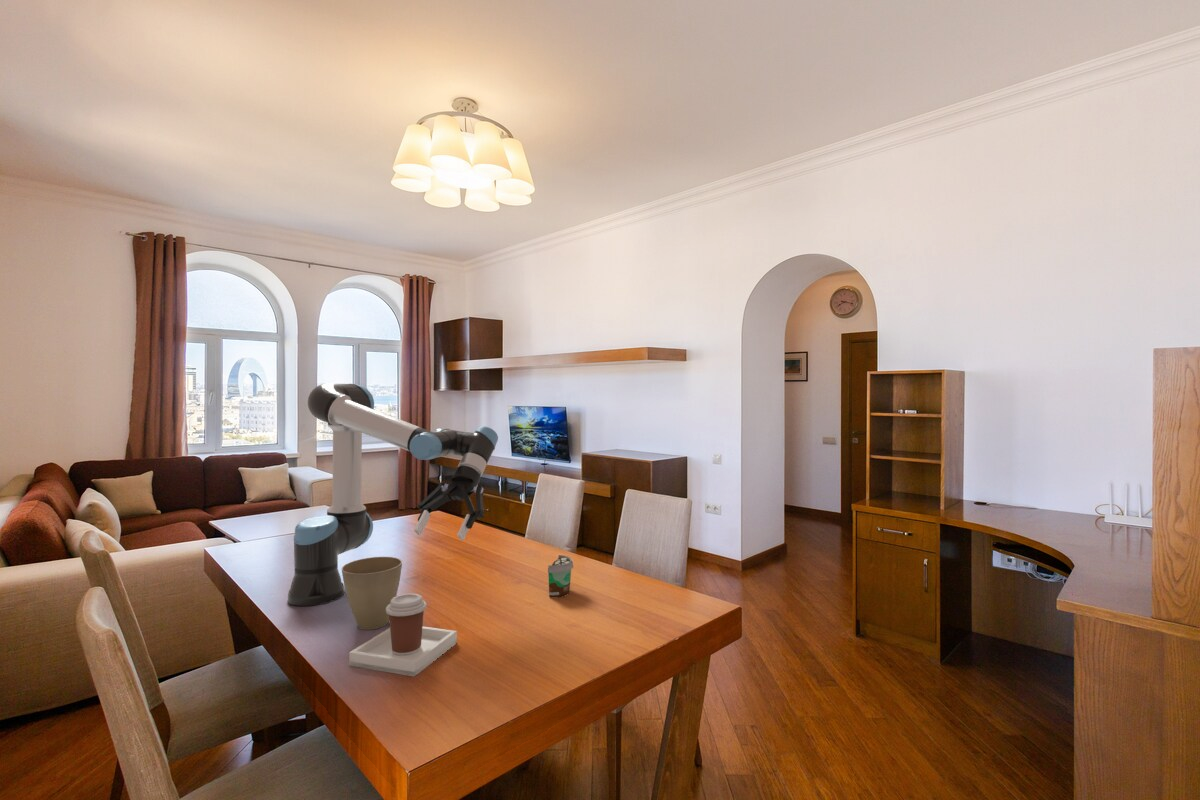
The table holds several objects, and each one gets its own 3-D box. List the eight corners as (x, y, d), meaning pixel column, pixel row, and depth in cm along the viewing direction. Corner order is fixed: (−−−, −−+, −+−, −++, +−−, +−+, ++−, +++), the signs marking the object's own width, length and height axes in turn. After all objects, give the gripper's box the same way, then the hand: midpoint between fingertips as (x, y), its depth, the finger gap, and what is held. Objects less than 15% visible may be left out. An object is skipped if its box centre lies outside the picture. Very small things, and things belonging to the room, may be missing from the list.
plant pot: (358, 613, 155) (358, 556, 155) (410, 613, 154) (410, 556, 154) (330, 636, 140) (330, 573, 140) (388, 636, 139) (388, 573, 139)
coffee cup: (426, 655, 127) (426, 603, 127) (383, 660, 125) (383, 607, 125) (427, 638, 136) (427, 590, 136) (387, 643, 133) (387, 593, 133)
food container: (567, 600, 164) (567, 567, 164) (547, 599, 165) (547, 565, 165) (577, 586, 176) (577, 555, 176) (559, 585, 178) (558, 554, 178)
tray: (349, 665, 124) (349, 652, 124) (397, 634, 141) (397, 622, 141) (414, 676, 120) (414, 662, 120) (456, 643, 136) (456, 631, 136)
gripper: (511, 482, 162) (484, 547, 148) (438, 476, 170) (406, 537, 156) (502, 466, 157) (473, 532, 143) (427, 461, 165) (393, 523, 151)
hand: (438, 535), depth 150 cm, fingers open, 13 cm apart
